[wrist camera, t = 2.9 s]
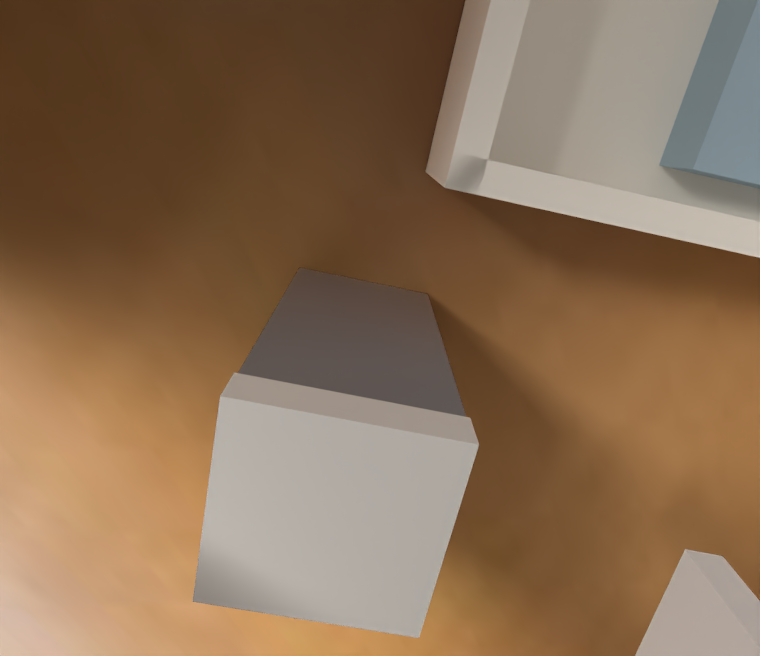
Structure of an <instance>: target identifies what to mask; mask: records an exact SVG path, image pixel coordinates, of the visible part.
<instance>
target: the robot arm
mask: <svg viewBox="0 0 760 656" xmlns="http://www.w3.org/2000/svg"><path fill="white" fill-rule="evenodd" d="M635 656H760V601H759V600H758V598H757V597H756V596H755V595H754V593H753V592H752V591H751V590H750V589H749V587H748V586H747V585H746V584H745V583H744V581H743V580H742V579H741V578H740V577H739V575H738V574H737V573H736V572H735V570H734V569H733V568H732V567H731V566H730V564H729V563H728V562H727V561H726V560H725V558H724V557H723V556H720V555H714V554H709V553H704V552H698V551H693V550H687V549H685V550H684V553H683V555H682V557H681V559H680V561H679V563H678V565H677V567H676V570H675V572H674V574H673V576H672V578H671V580H670V582H669V585H668V587H667V589H666V591H665V593H664V595H663V597H662V599H661V602H660V604H659V606H658V608H657V610H656V612H655V614H654V616H653V619H652V621H651V623H650V625H649V627H648V629H647V631H646V633H645V636H644V638H643V640H642V642H641V644H640V646H639V648H638V650H637V653H636V655H635Z"/></svg>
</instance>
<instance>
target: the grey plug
mask: <svg viewBox="0 0 760 656" xmlns="http://www.w3.org/2000/svg"><path fill="white" fill-rule="evenodd" d="M478 447H479V443H478V440H477V437H476V434H475V431H474V427H473V424H472V421H471V418H469V417H466V414H465V411H464V408H463V405H462V401H461V398H460V395H459V392H458V389H457V386H456V382H455V379H454V376H453V373H452V370H451V366H450V363H449V360H448V357H447V354H446V350H445V347H444V344H443V341H442V338H441V335H440V331H439V328H438V325H437V322H436V319H435V315H434V312H433V309H432V306H431V303H430V299H429V296H428V294H426V293H421V292H416V291H411V290H406V289H402V288H397V287H392V286H387V285H382V284H378V283H373V282H368V281H363V280H358V279H353V278H349V277H344V276H339V275H334V274H329V273H325V272H320V271H315V270H310V269H305V268H300V267H299V269H298V271H297V273H296V274H295V276H294V278H293V279H292V281H291V283H290V285H289V286H288V288H287V290H286V291H285V293H284V295H283V297H282V298H281V300H280V302H279V303H278V305H277V307H276V309H275V310H274V312H273V314H272V316H271V317H270V319H269V321H268V322H267V324H266V326H265V328H264V329H263V331H262V333H261V334H260V336H259V338H258V340H257V341H256V343H255V345H254V346H253V348H252V350H251V352H250V353H249V355H248V357H247V358H246V360H245V362H244V364H243V365H242V367H241V369H240V370H239V372H238V373H235V372H234V374H233V375H232V377H231V379H230V381H229V382H228V384H227V386H226V387H225V389H224V391H223V392H222V394H221V396H220V401H219V409H218V416H217V424H216V431H215V439H214V446H213V454H212V461H211V469H210V476H209V484H208V491H207V499H206V506H205V514H204V521H203V529H202V536H201V543H200V551H199V558H198V566H197V573H196V581H195V588H194V596H193V602H198V603H204V604H210V605H216V606H223V607H229V608H235V609H241V610H248V611H254V612H260V613H266V614H272V615H279V616H285V617H291V618H297V619H304V620H310V621H316V622H322V623H328V624H335V625H341V626H347V627H353V628H360V629H366V630H372V631H378V632H384V633H391V634H397V635H403V636H409V637H415V638H419V636H420V633H421V630H422V626H423V623H424V620H425V617H426V614H427V610H428V607H429V604H430V601H431V598H432V594H433V591H434V588H435V585H436V582H437V578H438V575H439V572H440V569H441V566H442V562H443V559H444V556H445V553H446V550H447V546H448V543H449V540H450V537H451V533H452V530H453V527H454V524H455V521H456V517H457V514H458V511H459V508H460V505H461V501H462V498H463V495H464V492H465V489H466V485H467V482H468V479H469V476H470V473H471V469H472V466H473V463H474V460H475V457H476V453H477V450H478Z"/></svg>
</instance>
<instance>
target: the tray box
mask: <svg viewBox="0 0 760 656" xmlns="http://www.w3.org/2000/svg"><path fill="white" fill-rule="evenodd" d="M425 172H426V173H427V174H428V175H430V176H431V177H432V178H433V179H435V180H436V181H437V182H438V183H439V184H441V185H442V186H443V187H444V188H448V189H453V190H457V191H462V192H466V193H471V194H475V195H480V196H484V197H489V198H493V199H498V200H502V201H507V202H511V203H516V204H520V205H525V206H529V207H534V208H538V209H543V210H547V211H552V212H556V213H561V214H565V215H570V216H574V217H579V218H583V219H588V220H592V221H597V222H601V223H606V224H610V225H615V226H619V227H624V228H628V229H633V230H637V231H642V232H646V233H651V234H655V235H660V236H664V237H669V238H673V239H678V240H682V241H687V242H691V243H696V244H700V245H705V246H709V247H714V248H718V249H723V250H727V251H732V252H736V253H741V254H745V255H750V256H754V257H759V258H760V0H465V4H464V8H463V12H462V17H461V21H460V25H459V30H458V34H457V38H456V42H455V47H454V51H453V55H452V60H451V64H450V68H449V73H448V77H447V81H446V85H445V90H444V94H443V98H442V103H441V107H440V111H439V115H438V120H437V124H436V128H435V133H434V137H433V141H432V145H431V150H430V154H429V158H428V163H427V167H426V171H425Z"/></svg>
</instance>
